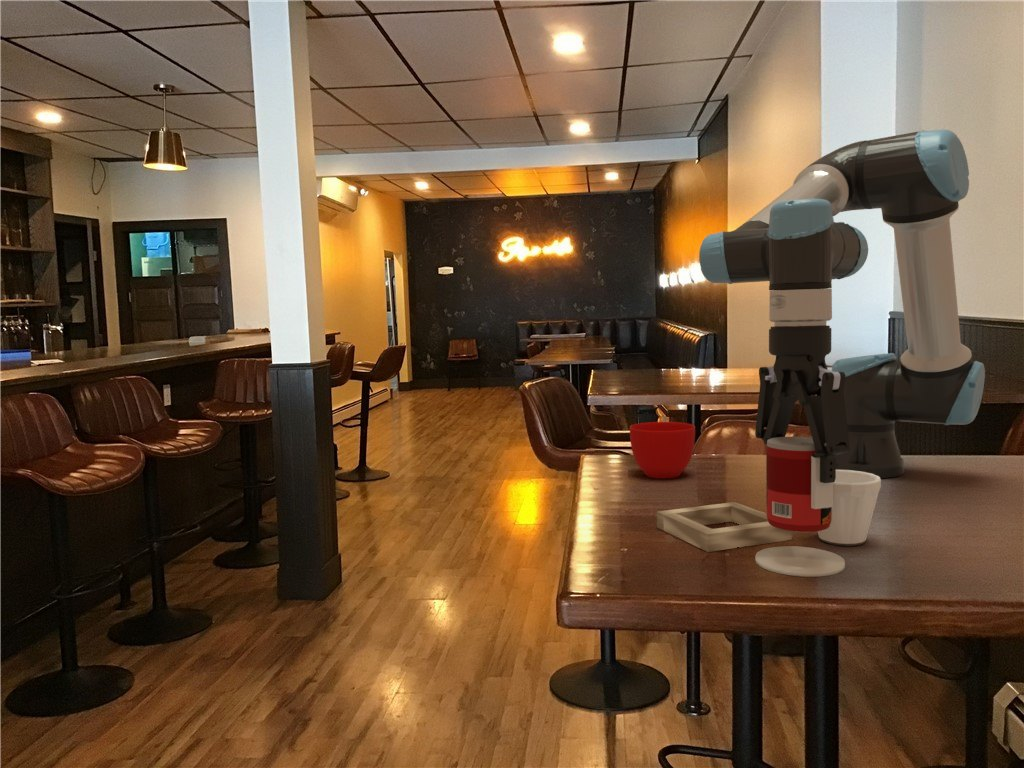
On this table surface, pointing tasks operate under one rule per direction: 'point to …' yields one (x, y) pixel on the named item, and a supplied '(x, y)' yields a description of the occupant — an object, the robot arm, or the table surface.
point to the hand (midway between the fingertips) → (799, 500)
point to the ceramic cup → (662, 447)
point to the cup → (851, 507)
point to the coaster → (800, 561)
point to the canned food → (792, 486)
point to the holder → (693, 531)
